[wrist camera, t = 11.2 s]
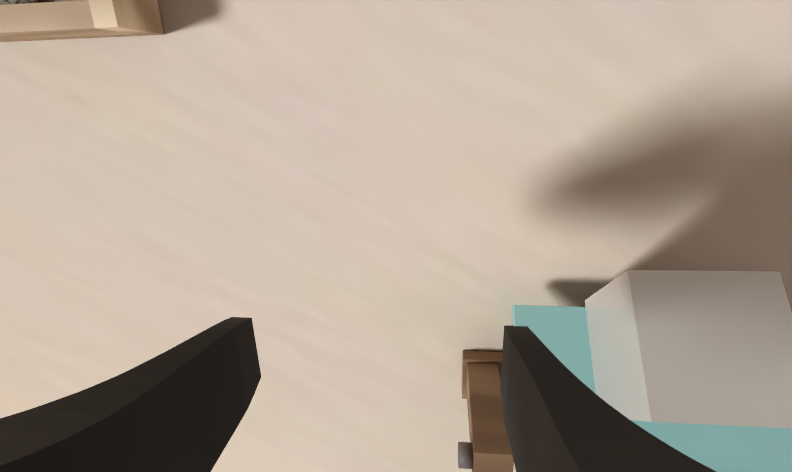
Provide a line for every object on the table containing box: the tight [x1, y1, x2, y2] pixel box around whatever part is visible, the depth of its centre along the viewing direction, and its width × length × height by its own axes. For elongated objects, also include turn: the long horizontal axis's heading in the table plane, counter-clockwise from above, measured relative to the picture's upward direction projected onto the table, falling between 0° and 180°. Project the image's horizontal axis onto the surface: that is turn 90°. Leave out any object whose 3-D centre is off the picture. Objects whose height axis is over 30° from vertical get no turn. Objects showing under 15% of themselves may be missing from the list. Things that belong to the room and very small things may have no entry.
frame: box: [458, 350, 514, 472], centre depth 20 cm, size 3×17×7 cm, turn 92°
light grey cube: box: [585, 270, 792, 428], centre depth 17 cm, size 5×5×5 cm
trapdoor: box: [512, 305, 792, 472], centre depth 18 cm, size 11×12×2 cm
